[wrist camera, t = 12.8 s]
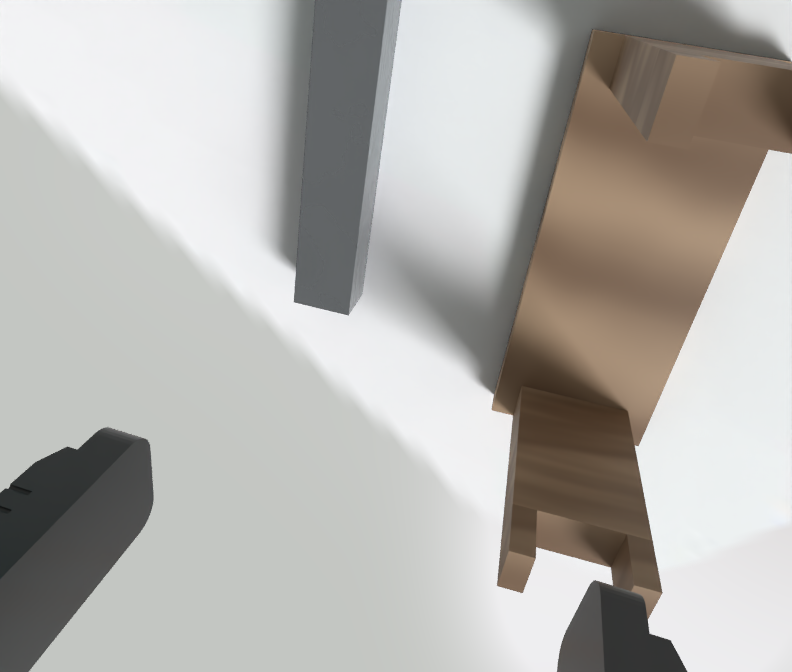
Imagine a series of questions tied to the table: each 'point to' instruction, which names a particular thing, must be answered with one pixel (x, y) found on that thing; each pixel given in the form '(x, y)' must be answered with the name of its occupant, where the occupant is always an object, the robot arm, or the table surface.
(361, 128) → the steel bar
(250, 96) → the table surface
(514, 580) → the walnut stand
